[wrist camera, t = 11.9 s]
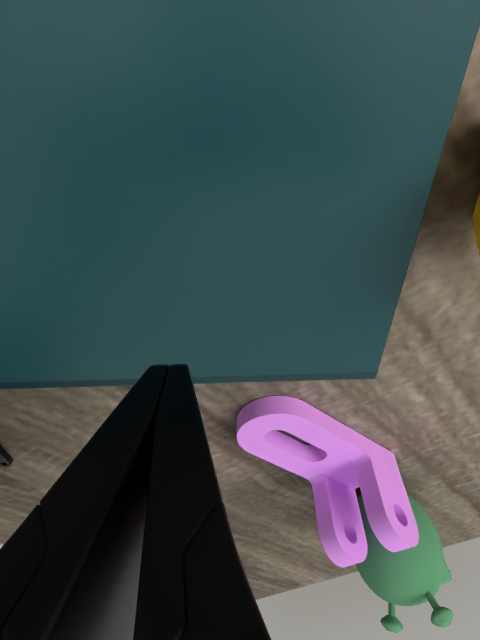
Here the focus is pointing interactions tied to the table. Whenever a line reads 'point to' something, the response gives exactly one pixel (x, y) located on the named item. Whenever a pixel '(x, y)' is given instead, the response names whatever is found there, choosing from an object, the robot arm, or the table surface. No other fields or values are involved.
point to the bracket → (333, 475)
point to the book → (215, 182)
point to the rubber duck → (477, 222)
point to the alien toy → (406, 570)
